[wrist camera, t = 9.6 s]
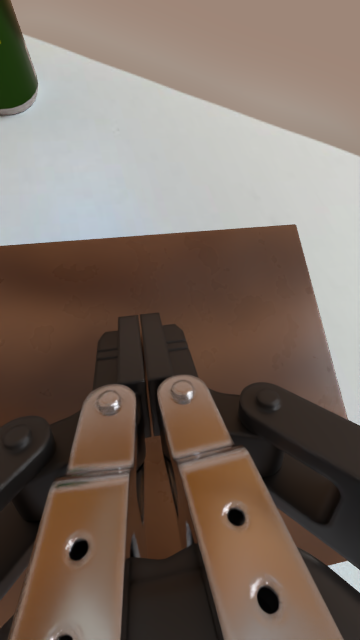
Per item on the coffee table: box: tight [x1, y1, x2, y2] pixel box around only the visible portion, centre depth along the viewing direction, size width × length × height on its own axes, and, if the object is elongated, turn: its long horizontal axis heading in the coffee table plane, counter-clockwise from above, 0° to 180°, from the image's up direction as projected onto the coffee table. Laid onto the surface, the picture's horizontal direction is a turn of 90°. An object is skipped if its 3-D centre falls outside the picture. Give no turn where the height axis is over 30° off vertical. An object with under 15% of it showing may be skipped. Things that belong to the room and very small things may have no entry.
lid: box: [0, 224, 348, 629], centre depth 12 cm, size 13×16×1 cm
